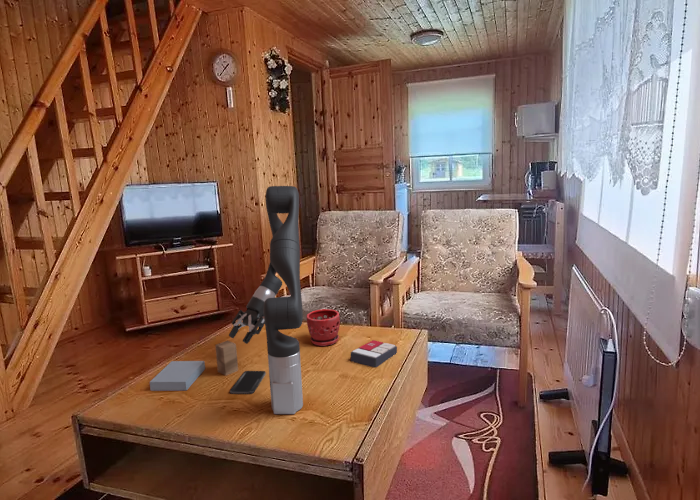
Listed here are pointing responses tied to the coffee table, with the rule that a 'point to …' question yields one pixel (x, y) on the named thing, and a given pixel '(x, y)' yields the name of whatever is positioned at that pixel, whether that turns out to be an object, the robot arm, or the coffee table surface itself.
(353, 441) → the coffee table surface
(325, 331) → the plant pot
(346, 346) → the coffee table surface
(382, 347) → the calculator
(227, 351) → the walnut block
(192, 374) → the base board
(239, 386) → the phone
